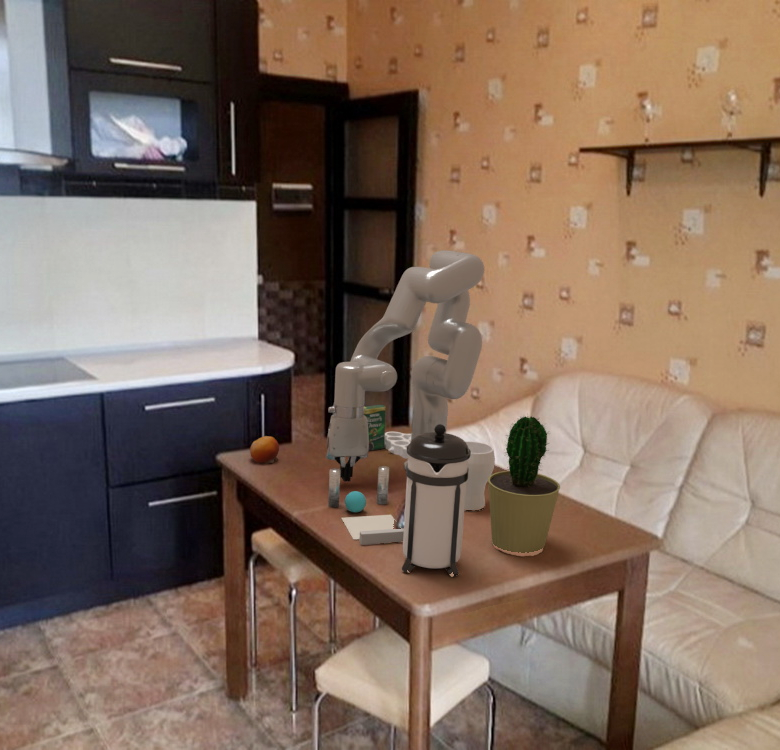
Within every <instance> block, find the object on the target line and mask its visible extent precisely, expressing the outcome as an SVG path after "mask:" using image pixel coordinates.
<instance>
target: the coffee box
mask: <svg viewBox="0 0 780 750" xmlns="http://www.w3.org/2000/svg"><path fill="white" fill-rule="evenodd" d="M386 408H387V406H385V405H383V404H376V405H368V406H367V405H366V406H364V415H365V416H366V417H367V422H368V434H369V450H368V452H369V451H375V450H376V451H377V450H382V449H383V450H384V449H385V446H384V444H385V433H386Z"/></svg>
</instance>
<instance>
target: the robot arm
mask: <svg viewBox="0 0 780 750" xmlns="http://www.w3.org/2000/svg"><path fill="white" fill-rule="evenodd" d="M484 274H485V265H484V261H483V260H482V259H481V257H479V256H478V255H476V254H473V253H467V252H462V251H461V252H460V251H453V250H447V249H445V250H443V249H442V250H438V251H436V252H433V254H432V255H431V257H430V259H429V267H424V266H411V267H409V268H407V269H406V270H405V271H404V272H403V274H402V275H401V277H400V280H399V281H398V284H397V285H396V288H395V291H394V293H393V295H392V296H391V299H390V302H389V304H388V306H387V308H386V310H385V313H384V314H383V317H382V318H381V319H379V321H377V322H376V323H375V324H374V325H372V327H371V328H370V329H368V331H367V332H365V333H364V335H363V336H362V337H361V339H360V340H359V341H358V343H357V345H356V347H355V350H354V352H353V354H352V356H351V359H350V361H342V362H339V363H338V364H337V365H336V367H335V375H334V377H335V378H334V400H333V401H334V402H333V405H332V406H329V407H328V408H327V409H328V413H331V414H332V415H331V416H330V420H329V421H330V422H329V425H328V431H327V432H328V433H327V440H326V448H327V452H326V455H325V457H326V458H327V460H330V461H336V462H337V463H338V465H340V467H339V469H340V479H341V480H342V481H343V482H344V483H346V482H348V483H349V482H351V480H352V479H351V478H353V474H354V467H355V466H356V464H357V462H358V461H360V460H363V459H365V458H366V459H367V458H368V457H369V454H368V453H369V451H368V450H369V434H368V422H367V417H366V416H365V415H364V407H365V393H366V392H386V391H389V390H390V389H392V388H393V387H394V386H395V385H396V383H397V380H398V373H397V371H396V368H395V367H394V366H392V365H391V364H390V363H387V362H386V361H383V360H379V359H378V357H379V355H380V354H381V352H382V350H383V349H384V348H385V347H386V346H387V345H388V344H389V343H391V342H393V341H394V340H396V339H398V338H399V339H400V338H401V337H404V336H406V335H409V334H411V333H412V332H413V331H414V330H415V328H416V326H417V323H418V321H419V318H420V316H421V314H422V312H423V310H424V308H425V305H426V303H429V304H436V309H435V312H434V315H433V318H432V322H431V325H430V328H429V333H428V335H427V343H428V345H429V347H430V348H431V349H432V350H433V351H434V352H437V353H440V354H443V355H446V356H448V357H447V359H445V358H441V357H438V356H436V355H435V356H433V355H426V356H425V355H424V356H421V357H420V358H418V359H417V360H416V361H415V362H414V363H413V366H412V368H411V372H410V373H411V375H410V376H411V387H412V396H413V403H412V405H413V406H412V418H411V433H410V434H411V440H412V439H413V438H414V437H416V436H418V435H420V434H424V433H431V432H435V430H434V429H435V427H436V426H437V425H438V424H442V425H444V426H445V429H446V431H445V433H447V426H448V416H449V405H448V399H449V400H458V399H461V398H462V397H464V396H465V394H467V392H468V390H469V388H470V386H471V383H472V380H473V377H474V374H475V371H476V368H477V365H478V362H479V359H480V355H481V351H482V347H483V338H482V334H481V331H480V330H479V328H477V326H476V325H474V324H472V323H468V322H467V319H468V318H467V317H468V315H469V309H470V305H471V297H470V291H469V290H471V289H472V288H474V287H476V286H477V285H478V284H479V283H481V280H482V279H483V277H484ZM346 457H348V459H347V462H346ZM407 463H408V459H406V461H405V462H404V463H403V468H404V470H405V471H406V466H407Z"/></svg>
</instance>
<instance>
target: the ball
mask: <svg viewBox="0 0 780 750" xmlns="http://www.w3.org/2000/svg"><path fill="white" fill-rule="evenodd" d="M344 504H345V508H346V509H347V510H348V511H349V512H350V513H359V512H362V511H363V510H364V509H365V507H366V504H367V499H366V497H365V495H364V494H363V493H362V492H360V491H356V490H354V491H351V492H349V493H348V494H347V495H346V496H345V499H344Z"/></svg>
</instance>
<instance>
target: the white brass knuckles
mask: <svg viewBox="0 0 780 750" xmlns="http://www.w3.org/2000/svg"><path fill="white" fill-rule="evenodd" d="M411 434H412V433H403V432H400V431H387V432H386V431H385V444H384V449H385V450H387V449H388V452H390V453H391V454H393V455H397V456H400V457H401V458H403V459H406V460H408V454H407V446H408V445H409V444H410V442H411Z"/></svg>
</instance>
